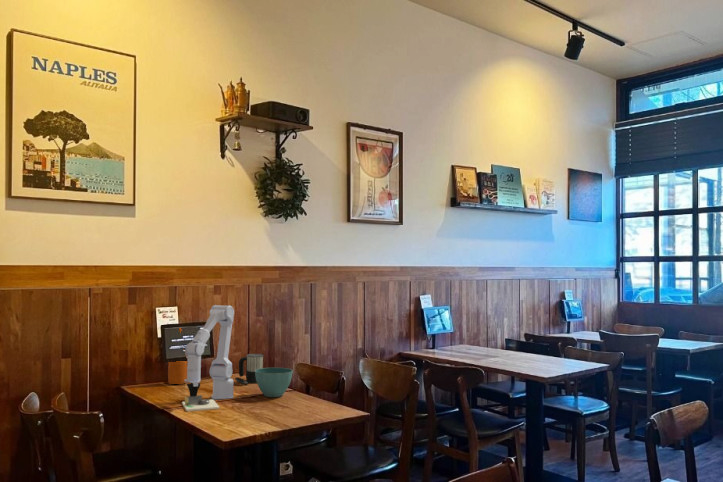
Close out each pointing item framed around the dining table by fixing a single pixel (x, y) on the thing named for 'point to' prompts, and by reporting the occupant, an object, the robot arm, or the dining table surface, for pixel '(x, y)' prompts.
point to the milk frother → (250, 368)
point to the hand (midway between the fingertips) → (193, 399)
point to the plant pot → (273, 380)
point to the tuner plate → (201, 406)
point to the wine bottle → (177, 371)
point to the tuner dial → (195, 400)
